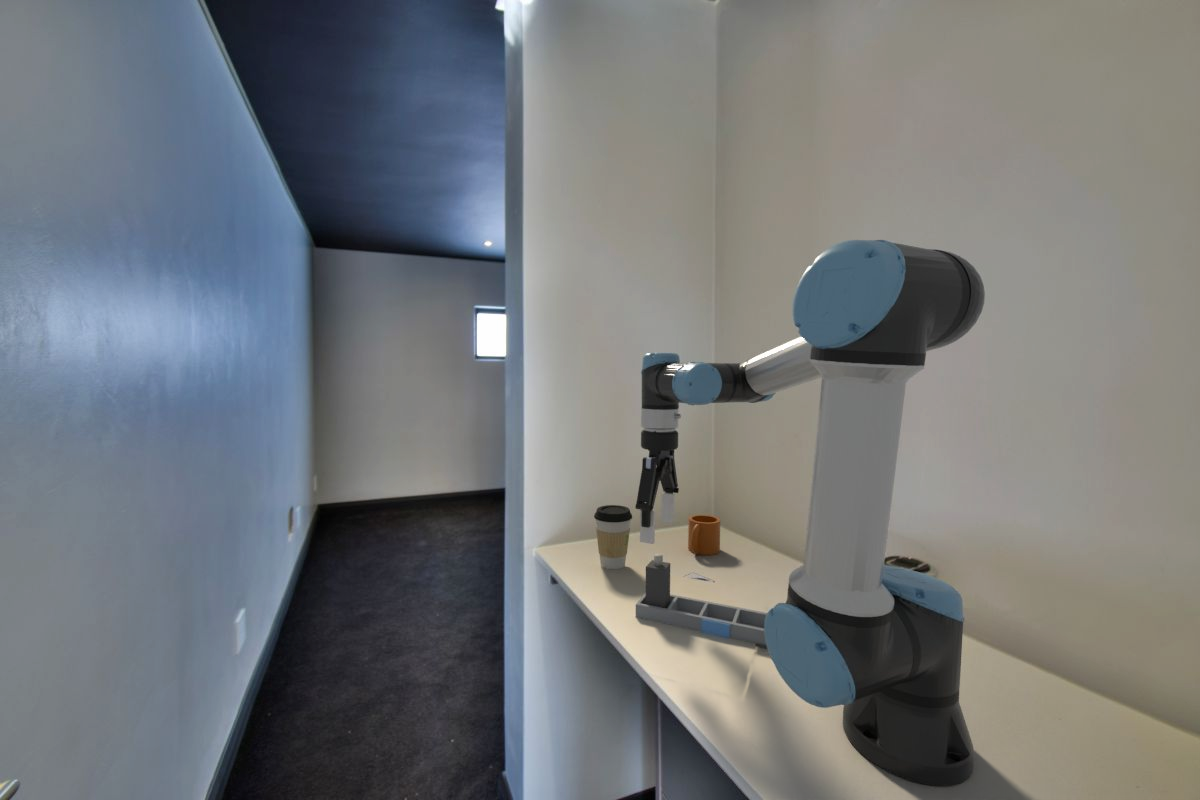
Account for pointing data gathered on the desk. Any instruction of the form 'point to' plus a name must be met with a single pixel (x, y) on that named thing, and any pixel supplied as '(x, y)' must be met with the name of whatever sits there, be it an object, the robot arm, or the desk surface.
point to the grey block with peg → (658, 582)
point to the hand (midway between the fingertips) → (657, 532)
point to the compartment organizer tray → (708, 618)
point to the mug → (704, 534)
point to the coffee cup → (613, 535)
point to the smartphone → (697, 577)
